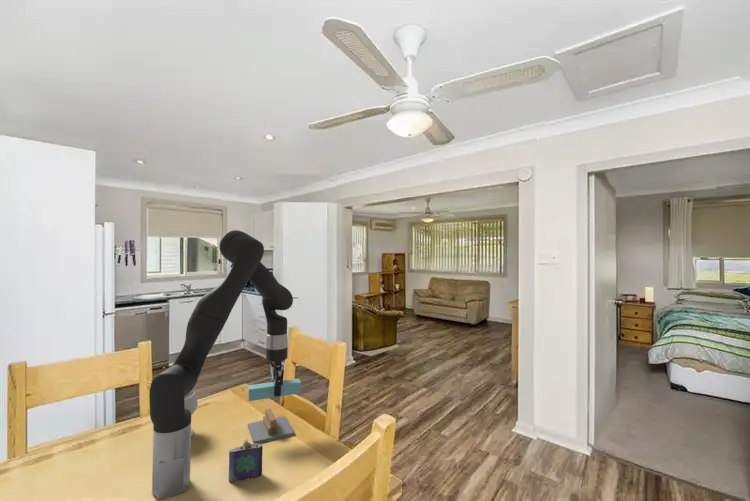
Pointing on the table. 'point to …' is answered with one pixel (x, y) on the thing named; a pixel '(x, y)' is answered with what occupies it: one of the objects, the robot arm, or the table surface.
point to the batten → (268, 389)
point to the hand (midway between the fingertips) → (276, 393)
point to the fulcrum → (269, 428)
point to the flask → (245, 462)
